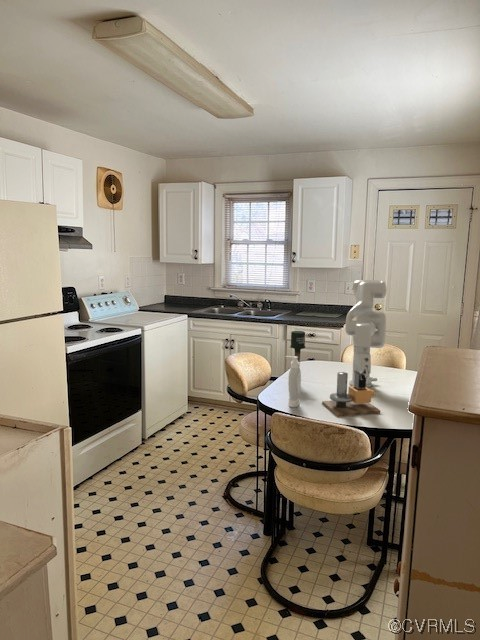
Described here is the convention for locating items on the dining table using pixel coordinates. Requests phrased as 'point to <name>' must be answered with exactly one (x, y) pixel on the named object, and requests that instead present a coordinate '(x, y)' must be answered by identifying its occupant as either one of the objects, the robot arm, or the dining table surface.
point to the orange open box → (361, 395)
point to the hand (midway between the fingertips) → (360, 385)
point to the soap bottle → (294, 382)
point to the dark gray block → (356, 381)
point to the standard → (341, 391)
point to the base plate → (351, 408)
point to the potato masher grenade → (298, 342)
